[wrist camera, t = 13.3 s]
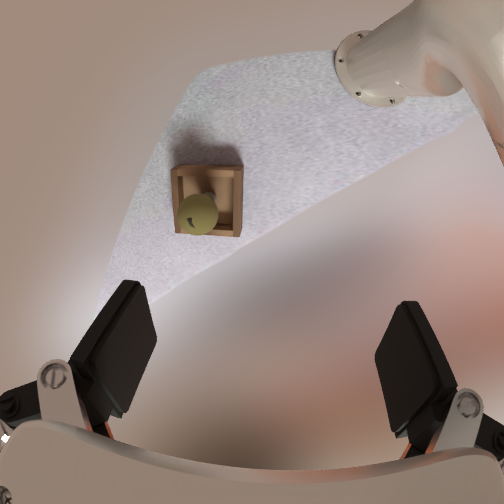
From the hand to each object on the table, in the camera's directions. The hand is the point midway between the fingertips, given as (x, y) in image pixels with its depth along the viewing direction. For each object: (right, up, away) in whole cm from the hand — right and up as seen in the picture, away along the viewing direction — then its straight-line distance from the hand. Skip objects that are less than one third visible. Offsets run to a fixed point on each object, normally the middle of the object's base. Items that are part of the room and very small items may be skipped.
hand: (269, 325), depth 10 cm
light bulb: (-7, +11, +33) cm, 36 cm away
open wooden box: (-7, +11, +34) cm, 36 cm away
